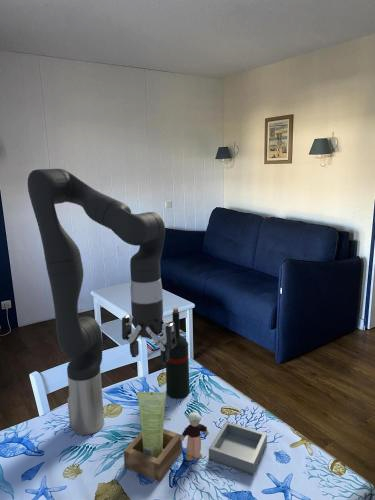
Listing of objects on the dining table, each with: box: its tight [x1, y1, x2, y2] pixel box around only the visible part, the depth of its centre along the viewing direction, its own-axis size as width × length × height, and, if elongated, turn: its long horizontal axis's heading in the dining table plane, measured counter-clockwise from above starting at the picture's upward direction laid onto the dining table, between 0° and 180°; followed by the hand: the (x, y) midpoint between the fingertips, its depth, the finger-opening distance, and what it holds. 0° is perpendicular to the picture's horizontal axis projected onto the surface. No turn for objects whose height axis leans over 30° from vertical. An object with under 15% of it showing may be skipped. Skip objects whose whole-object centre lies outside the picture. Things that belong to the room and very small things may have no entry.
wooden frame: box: [123, 428, 183, 483], centre depth 98 cm, size 10×12×5 cm
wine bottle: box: [159, 307, 191, 400], centre depth 125 cm, size 8×10×30 cm
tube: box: [136, 391, 167, 458], centre depth 97 cm, size 6×5×20 cm
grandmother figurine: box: [180, 411, 210, 462], centre depth 99 cm, size 8×4×13 cm, turn 117°
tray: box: [208, 421, 268, 477], centre depth 100 cm, size 12×12×4 cm
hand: (149, 359), depth 93 cm, fingers open, 8 cm apart
